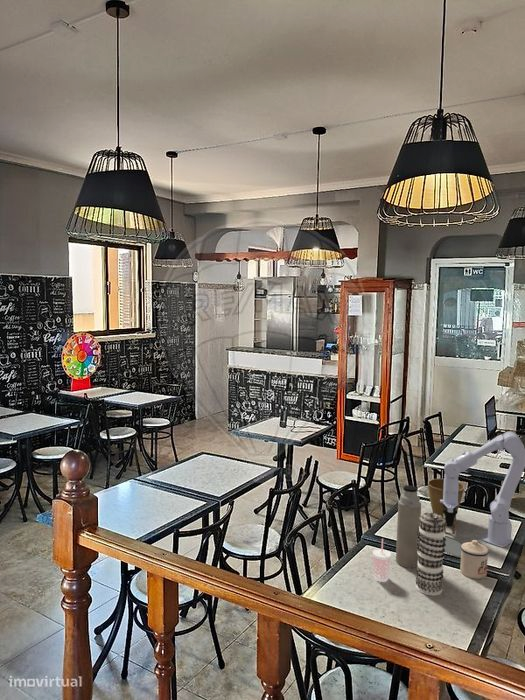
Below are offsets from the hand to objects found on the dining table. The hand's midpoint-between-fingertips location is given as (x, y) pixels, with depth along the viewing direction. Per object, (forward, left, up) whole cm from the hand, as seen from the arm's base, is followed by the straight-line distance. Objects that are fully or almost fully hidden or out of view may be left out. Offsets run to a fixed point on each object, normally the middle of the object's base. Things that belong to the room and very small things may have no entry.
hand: (449, 523), depth 218 cm
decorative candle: (+44, +18, -5) cm, 48 cm away
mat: (+10, +7, -5) cm, 13 cm away
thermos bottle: (+34, +3, -5) cm, 34 cm away
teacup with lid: (+21, +22, -5) cm, 31 cm away
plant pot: (-12, -9, -5) cm, 16 cm away
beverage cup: (+51, +4, -5) cm, 51 cm away
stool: (0, 0, -4) cm, 3 cm away
